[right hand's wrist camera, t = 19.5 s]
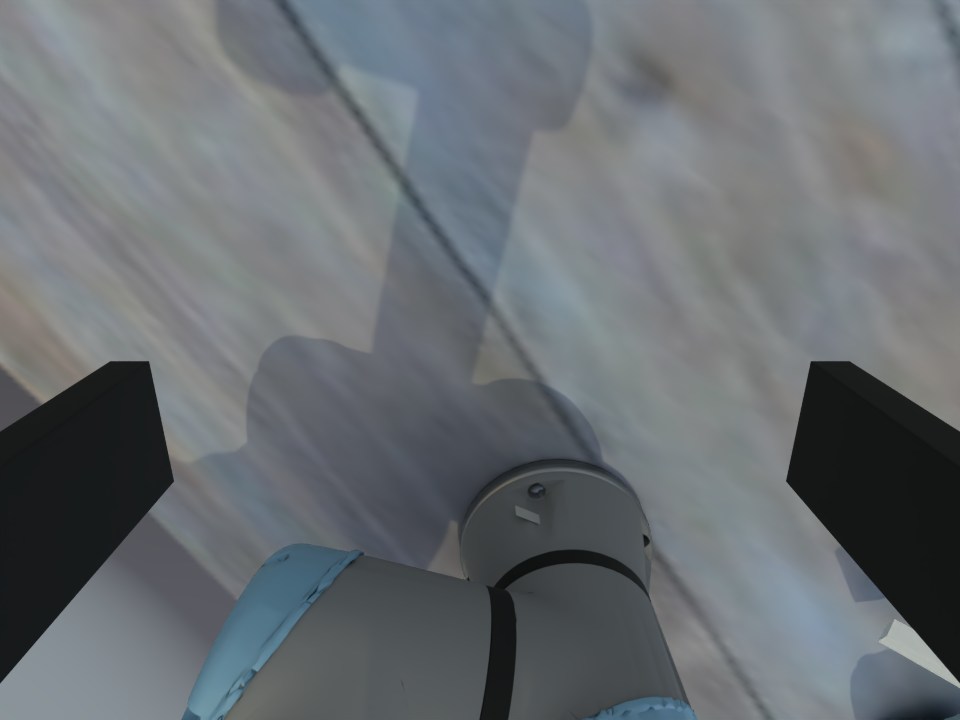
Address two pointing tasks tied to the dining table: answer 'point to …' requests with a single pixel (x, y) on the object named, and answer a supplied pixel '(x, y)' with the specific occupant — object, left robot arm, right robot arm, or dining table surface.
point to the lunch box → (954, 717)
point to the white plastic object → (914, 649)
